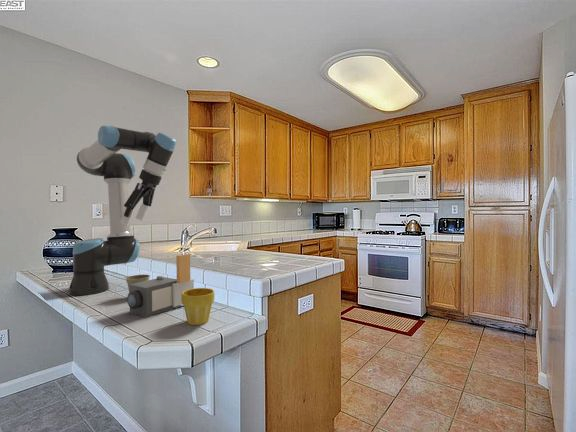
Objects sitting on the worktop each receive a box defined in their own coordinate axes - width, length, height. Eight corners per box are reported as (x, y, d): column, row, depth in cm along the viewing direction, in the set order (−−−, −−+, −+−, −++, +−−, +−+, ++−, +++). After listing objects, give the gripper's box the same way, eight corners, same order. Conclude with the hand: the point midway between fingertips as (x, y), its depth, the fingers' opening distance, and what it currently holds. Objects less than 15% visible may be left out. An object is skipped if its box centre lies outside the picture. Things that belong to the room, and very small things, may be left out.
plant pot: (221, 319, 100) (221, 290, 100) (197, 330, 91) (197, 297, 91) (199, 314, 105) (199, 286, 105) (174, 323, 97) (174, 293, 96)
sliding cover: (191, 300, 118) (191, 253, 118) (194, 300, 117) (194, 253, 117) (172, 306, 111) (171, 256, 110) (175, 307, 110) (174, 256, 109)
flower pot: (122, 297, 127) (122, 276, 127) (146, 292, 133) (146, 273, 133) (128, 302, 120) (128, 280, 120) (153, 297, 126) (153, 276, 126)
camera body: (164, 302, 120) (163, 274, 119) (181, 306, 114) (180, 277, 114) (123, 314, 106) (122, 282, 105) (140, 319, 100) (140, 286, 100)
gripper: (149, 176, 106) (126, 231, 107) (171, 176, 130) (152, 220, 132) (128, 167, 105) (105, 222, 106) (154, 169, 129) (135, 213, 131)
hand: (131, 221), depth 119 cm, fingers open, 13 cm apart
